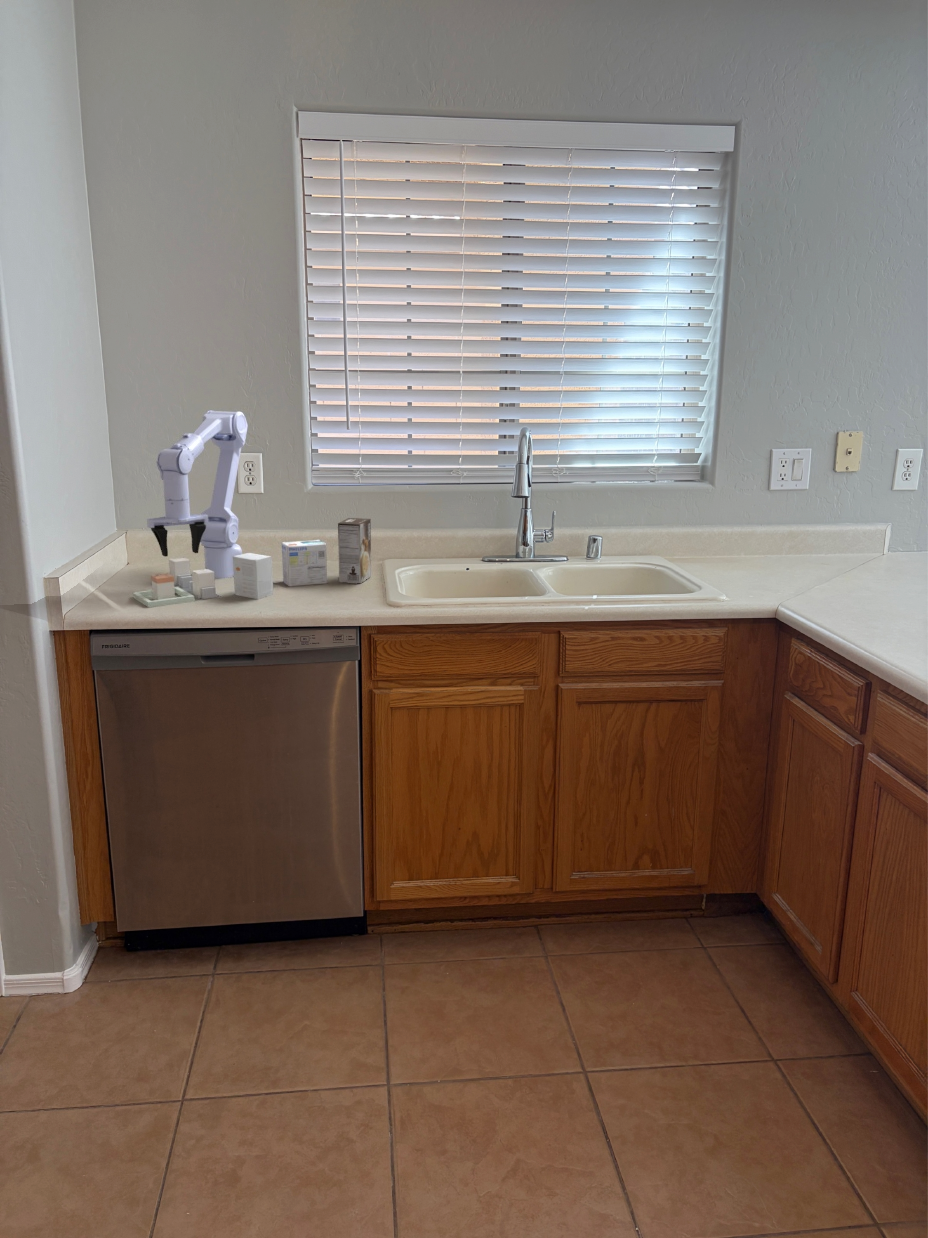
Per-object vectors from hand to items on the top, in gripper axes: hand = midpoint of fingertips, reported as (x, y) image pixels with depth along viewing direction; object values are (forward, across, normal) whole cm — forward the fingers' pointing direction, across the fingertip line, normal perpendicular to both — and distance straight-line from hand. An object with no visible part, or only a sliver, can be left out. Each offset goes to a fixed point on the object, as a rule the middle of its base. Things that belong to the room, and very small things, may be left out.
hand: (180, 554), depth 227 cm
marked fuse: (+9, -7, -7) cm, 13 cm away
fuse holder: (+10, +2, 0) cm, 10 cm away
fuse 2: (+9, +2, -8) cm, 12 cm away
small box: (+10, +13, -14) cm, 21 cm away
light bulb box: (+10, +31, -6) cm, 33 cm away
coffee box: (+10, +44, -10) cm, 46 cm away
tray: (+10, -7, -6) cm, 14 cm away
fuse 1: (+9, +2, +8) cm, 12 cm away
